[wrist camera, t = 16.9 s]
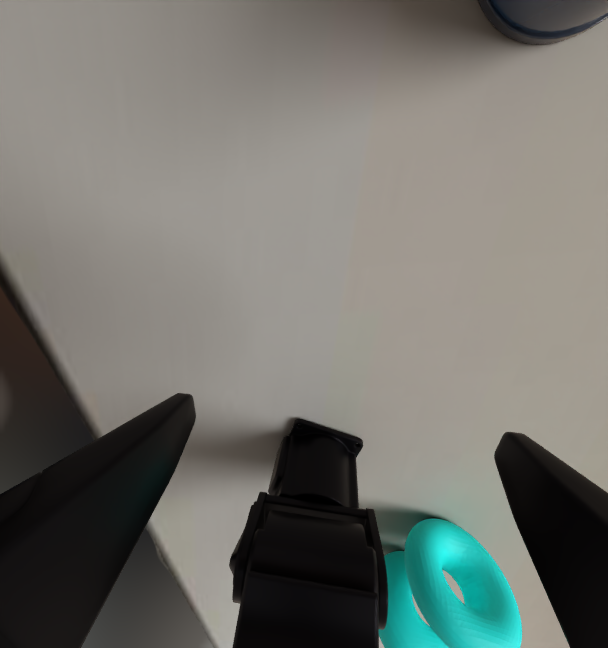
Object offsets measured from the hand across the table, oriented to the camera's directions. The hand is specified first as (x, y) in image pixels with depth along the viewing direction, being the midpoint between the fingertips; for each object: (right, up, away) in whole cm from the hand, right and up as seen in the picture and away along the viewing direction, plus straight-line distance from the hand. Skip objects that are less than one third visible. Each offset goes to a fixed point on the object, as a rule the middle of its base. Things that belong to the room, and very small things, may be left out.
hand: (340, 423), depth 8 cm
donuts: (+12, -21, +23) cm, 33 cm away
